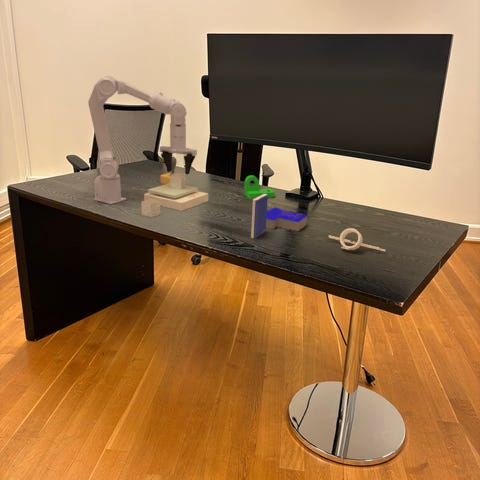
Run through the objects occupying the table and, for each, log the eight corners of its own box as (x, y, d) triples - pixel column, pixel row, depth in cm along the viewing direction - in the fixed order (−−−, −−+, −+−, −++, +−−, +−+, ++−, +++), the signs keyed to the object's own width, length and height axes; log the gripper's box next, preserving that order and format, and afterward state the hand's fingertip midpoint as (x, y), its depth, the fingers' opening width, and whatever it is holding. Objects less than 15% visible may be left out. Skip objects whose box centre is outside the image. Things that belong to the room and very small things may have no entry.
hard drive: (266, 231, 150) (268, 194, 146) (254, 239, 144) (256, 200, 139) (261, 230, 151) (263, 193, 147) (250, 238, 144) (252, 199, 140)
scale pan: (147, 192, 175) (147, 189, 175) (172, 184, 186) (172, 182, 186) (174, 198, 169) (174, 195, 168) (198, 190, 180) (198, 187, 179)
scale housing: (144, 201, 176) (143, 192, 175) (171, 193, 189) (171, 184, 187) (181, 211, 167) (181, 201, 166) (208, 201, 180) (208, 192, 179)
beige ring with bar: (316, 241, 138) (322, 220, 138) (326, 248, 146) (332, 228, 147) (375, 256, 129) (382, 233, 129) (383, 263, 137) (389, 242, 138)
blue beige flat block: (266, 217, 165) (267, 203, 163) (306, 225, 158) (308, 210, 156) (252, 226, 156) (253, 211, 154) (294, 235, 149) (296, 219, 147)
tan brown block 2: (170, 188, 178) (170, 175, 176) (175, 185, 182) (175, 172, 180) (181, 189, 176) (180, 176, 175) (186, 186, 180) (185, 173, 178)
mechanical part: (249, 198, 186) (249, 179, 183) (243, 194, 191) (244, 175, 188) (276, 197, 189) (278, 177, 186) (271, 193, 195) (272, 174, 192)
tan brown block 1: (141, 215, 161) (141, 201, 159) (150, 212, 165) (150, 198, 163) (151, 218, 159) (151, 204, 157) (160, 214, 163) (159, 201, 161)
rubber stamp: (160, 183, 203) (159, 155, 198) (169, 181, 207) (169, 154, 203) (176, 187, 197) (176, 159, 193) (186, 185, 201) (186, 157, 197)
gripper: (155, 136, 171) (156, 172, 176) (191, 139, 166) (191, 177, 171) (164, 133, 177) (165, 169, 182) (199, 137, 173) (199, 173, 178)
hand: (178, 172), depth 177 cm, fingers open, 7 cm apart
